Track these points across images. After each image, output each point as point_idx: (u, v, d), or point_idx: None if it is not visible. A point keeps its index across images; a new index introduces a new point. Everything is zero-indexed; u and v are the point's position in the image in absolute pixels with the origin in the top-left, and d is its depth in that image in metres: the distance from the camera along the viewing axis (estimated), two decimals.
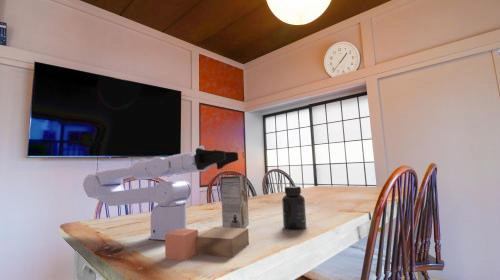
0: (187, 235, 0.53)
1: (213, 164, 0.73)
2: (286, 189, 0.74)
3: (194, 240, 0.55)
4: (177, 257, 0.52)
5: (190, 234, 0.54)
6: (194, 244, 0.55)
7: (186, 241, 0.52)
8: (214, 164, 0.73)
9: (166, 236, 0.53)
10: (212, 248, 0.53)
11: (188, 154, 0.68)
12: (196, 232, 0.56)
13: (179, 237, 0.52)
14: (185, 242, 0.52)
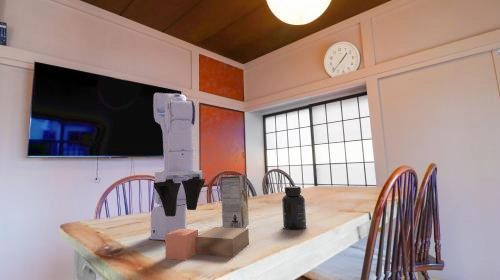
0: (187, 235, 0.53)
1: None
2: (286, 189, 0.74)
3: (194, 240, 0.55)
4: (177, 257, 0.52)
5: (190, 234, 0.54)
6: (194, 244, 0.55)
7: (186, 241, 0.52)
8: None
9: (166, 236, 0.53)
10: (213, 248, 0.53)
11: (183, 158, 0.54)
12: (196, 232, 0.56)
13: (179, 237, 0.52)
14: (186, 242, 0.52)
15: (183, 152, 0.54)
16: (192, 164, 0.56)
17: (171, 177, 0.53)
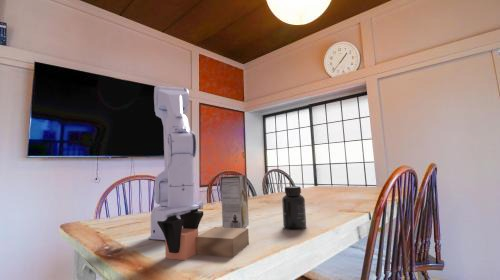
0: (187, 235, 0.53)
1: None
2: (286, 189, 0.74)
3: (194, 240, 0.55)
4: (177, 257, 0.52)
5: (190, 234, 0.54)
6: (194, 244, 0.55)
7: (186, 240, 0.52)
8: None
9: None
10: (213, 248, 0.53)
11: (183, 193, 0.53)
12: (196, 232, 0.56)
13: None
14: (186, 241, 0.52)
15: (184, 187, 0.54)
16: (193, 198, 0.55)
17: (171, 214, 0.52)
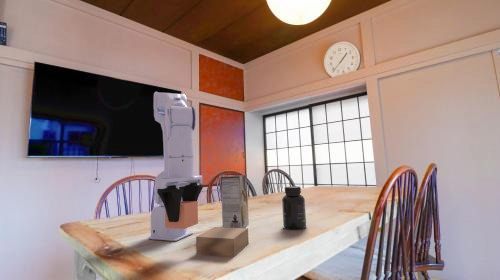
0: (187, 205, 0.53)
1: None
2: (286, 189, 0.74)
3: (194, 211, 0.56)
4: (177, 226, 0.53)
5: (190, 204, 0.54)
6: (194, 215, 0.55)
7: (186, 210, 0.53)
8: None
9: None
10: (213, 248, 0.53)
11: (183, 164, 0.54)
12: (196, 203, 0.56)
13: None
14: (185, 211, 0.53)
15: (183, 158, 0.54)
16: (192, 170, 0.56)
17: (171, 183, 0.53)
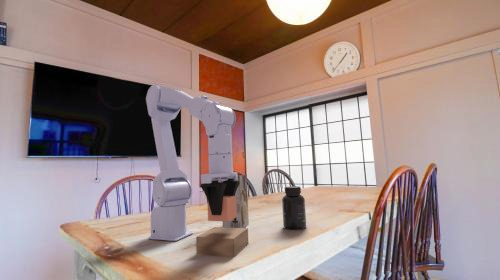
0: (229, 199, 0.56)
1: None
2: (286, 189, 0.74)
3: (234, 205, 0.59)
4: (220, 219, 0.56)
5: (231, 198, 0.57)
6: (234, 208, 0.58)
7: (228, 204, 0.56)
8: None
9: None
10: (214, 248, 0.53)
11: (224, 160, 0.57)
12: (235, 198, 0.60)
13: None
14: (227, 205, 0.56)
15: (224, 155, 0.57)
16: (232, 166, 0.59)
17: (214, 179, 0.56)
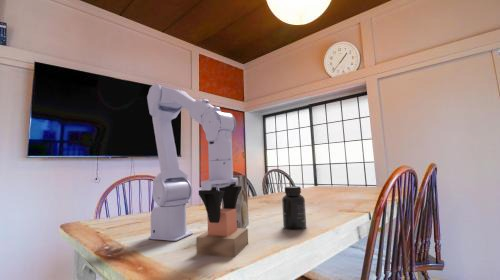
0: (228, 213, 0.56)
1: None
2: (286, 189, 0.74)
3: (234, 218, 0.58)
4: (219, 233, 0.56)
5: (230, 212, 0.57)
6: (234, 222, 0.58)
7: (228, 218, 0.56)
8: None
9: None
10: (214, 248, 0.53)
11: (224, 167, 0.57)
12: (235, 211, 0.59)
13: (221, 214, 0.56)
14: (227, 219, 0.56)
15: (224, 161, 0.57)
16: (232, 172, 0.59)
17: (214, 185, 0.56)
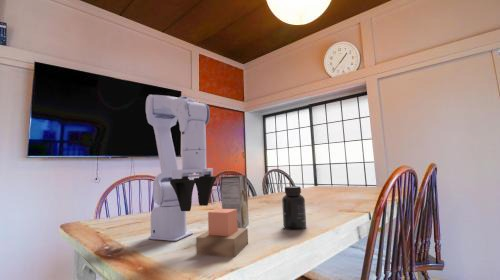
0: (229, 213, 0.56)
1: None
2: (286, 189, 0.74)
3: (234, 218, 0.58)
4: (220, 233, 0.55)
5: (231, 212, 0.57)
6: (234, 222, 0.58)
7: (229, 218, 0.55)
8: None
9: (209, 214, 0.57)
10: (214, 248, 0.53)
11: (197, 156, 0.57)
12: (236, 211, 0.59)
13: (222, 214, 0.55)
14: (228, 219, 0.55)
15: (197, 151, 0.58)
16: (205, 162, 0.59)
17: (186, 174, 0.56)
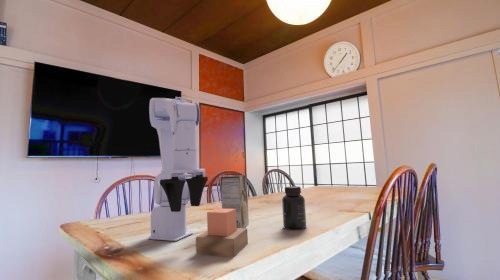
0: (228, 213, 0.56)
1: None
2: (286, 189, 0.74)
3: (233, 218, 0.58)
4: (219, 233, 0.55)
5: (230, 212, 0.57)
6: (233, 222, 0.58)
7: (228, 218, 0.56)
8: None
9: (208, 214, 0.57)
10: (213, 248, 0.53)
11: (187, 157, 0.57)
12: (235, 211, 0.59)
13: (221, 214, 0.56)
14: (227, 219, 0.55)
15: (187, 151, 0.58)
16: (196, 163, 0.59)
17: (176, 175, 0.56)
